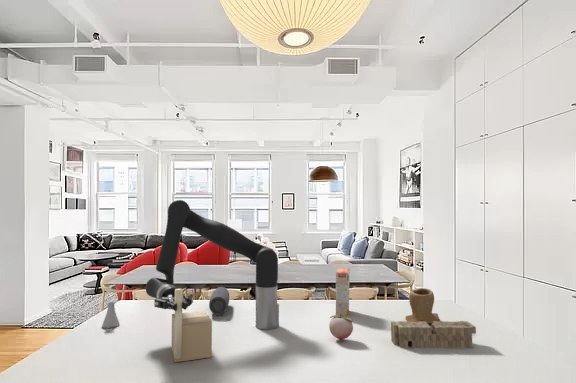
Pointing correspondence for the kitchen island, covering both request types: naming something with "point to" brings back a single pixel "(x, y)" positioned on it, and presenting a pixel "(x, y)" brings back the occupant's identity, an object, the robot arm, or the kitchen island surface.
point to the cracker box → (342, 292)
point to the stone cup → (422, 306)
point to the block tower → (432, 334)
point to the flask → (110, 317)
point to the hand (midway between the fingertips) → (180, 306)
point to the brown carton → (190, 320)
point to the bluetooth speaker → (219, 300)
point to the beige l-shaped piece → (190, 336)
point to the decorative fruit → (340, 327)
